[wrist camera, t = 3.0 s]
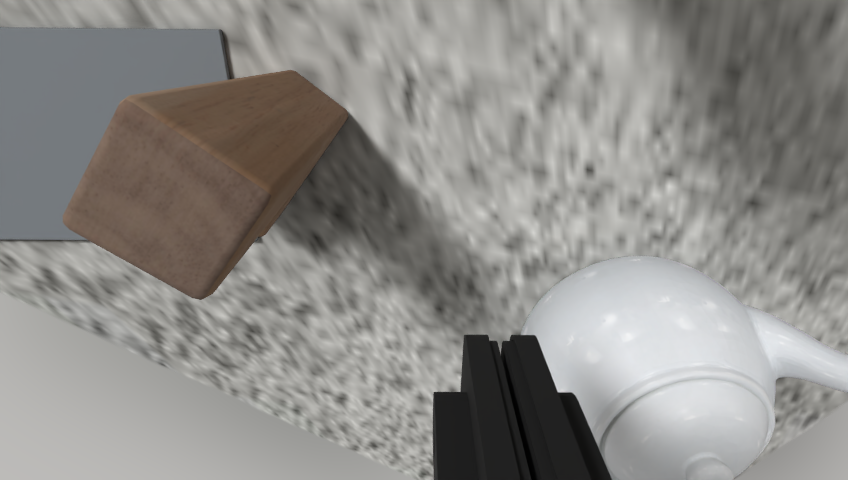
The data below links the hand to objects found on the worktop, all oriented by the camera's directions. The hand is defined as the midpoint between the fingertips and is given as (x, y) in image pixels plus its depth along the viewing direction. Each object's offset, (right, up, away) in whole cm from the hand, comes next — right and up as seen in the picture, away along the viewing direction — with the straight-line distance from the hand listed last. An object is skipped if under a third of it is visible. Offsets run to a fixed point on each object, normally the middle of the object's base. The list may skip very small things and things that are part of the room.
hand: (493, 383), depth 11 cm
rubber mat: (-24, +10, +19) cm, 32 cm away
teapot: (+14, -5, +26) cm, 30 cm away
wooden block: (-11, +10, +19) cm, 24 cm away
